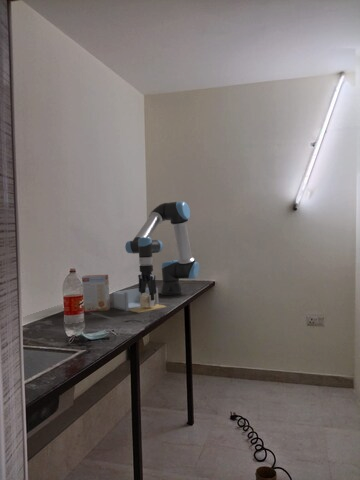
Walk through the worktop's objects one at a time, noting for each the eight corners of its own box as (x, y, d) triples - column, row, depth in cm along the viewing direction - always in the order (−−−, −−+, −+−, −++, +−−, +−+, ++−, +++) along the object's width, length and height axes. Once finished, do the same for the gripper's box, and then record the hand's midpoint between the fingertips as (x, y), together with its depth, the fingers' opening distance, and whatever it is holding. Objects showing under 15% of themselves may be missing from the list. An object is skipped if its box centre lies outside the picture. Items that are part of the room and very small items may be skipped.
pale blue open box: (144, 303, 242) (143, 285, 242) (158, 306, 231) (157, 287, 231) (113, 309, 229) (112, 290, 228) (126, 312, 217) (125, 293, 217)
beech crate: (148, 304, 224) (148, 294, 224) (155, 305, 219) (155, 295, 219) (139, 306, 220) (139, 295, 220) (146, 307, 215) (146, 296, 215)
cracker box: (110, 310, 227) (108, 274, 226) (106, 312, 221) (104, 275, 220) (88, 310, 230) (86, 274, 229) (83, 312, 224) (81, 276, 223)
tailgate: (157, 304, 230) (166, 306, 222) (157, 306, 230) (166, 308, 222) (129, 309, 218) (138, 311, 210) (129, 312, 218) (139, 314, 210)
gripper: (131, 264, 225) (133, 304, 225) (150, 266, 209) (152, 308, 210) (141, 263, 229) (143, 302, 230) (161, 264, 214) (163, 306, 215)
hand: (148, 305), depth 220 cm, fingers closed on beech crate, 7 cm apart
